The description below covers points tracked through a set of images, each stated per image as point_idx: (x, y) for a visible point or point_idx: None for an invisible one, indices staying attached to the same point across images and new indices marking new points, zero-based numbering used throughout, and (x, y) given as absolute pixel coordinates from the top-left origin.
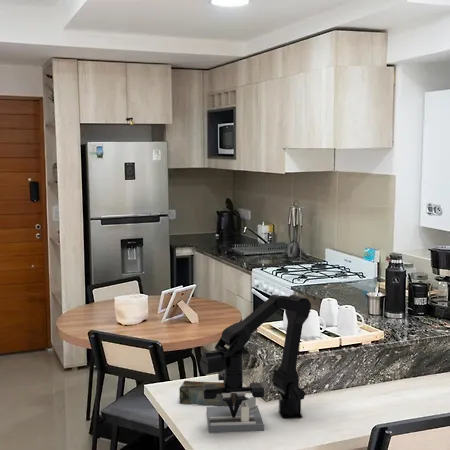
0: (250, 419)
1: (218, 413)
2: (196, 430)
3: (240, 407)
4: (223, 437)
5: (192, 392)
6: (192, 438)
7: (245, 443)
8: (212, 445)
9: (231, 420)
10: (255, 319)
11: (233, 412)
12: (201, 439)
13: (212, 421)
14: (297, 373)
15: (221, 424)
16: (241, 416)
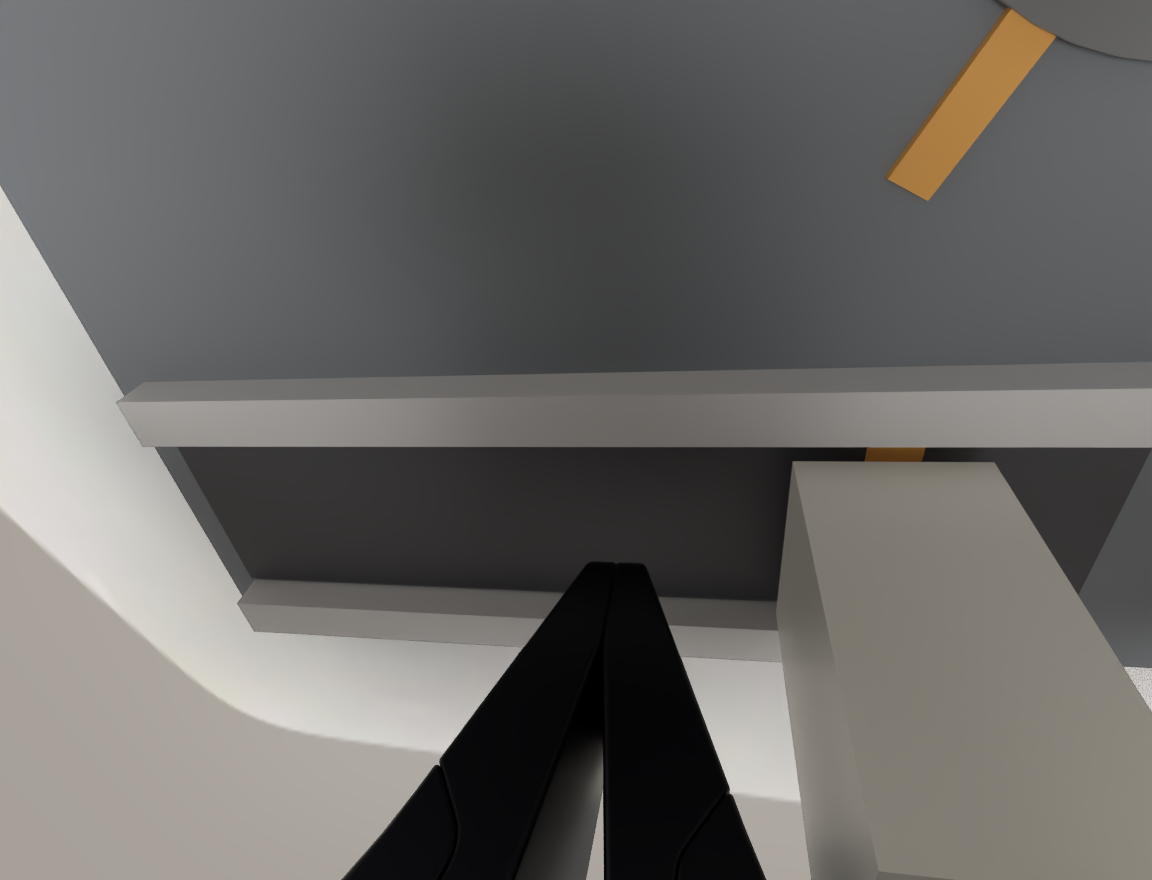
0: (1031, 481)
1: (212, 73)
2: (119, 478)
3: (837, 736)
4: (503, 654)
5: None
6: (176, 631)
7: (748, 770)
8: (415, 749)
9: (586, 487)
10: None
11: (600, 777)
12: (275, 657)
13: (242, 492)
14: None
15: (422, 627)
16: (792, 710)
